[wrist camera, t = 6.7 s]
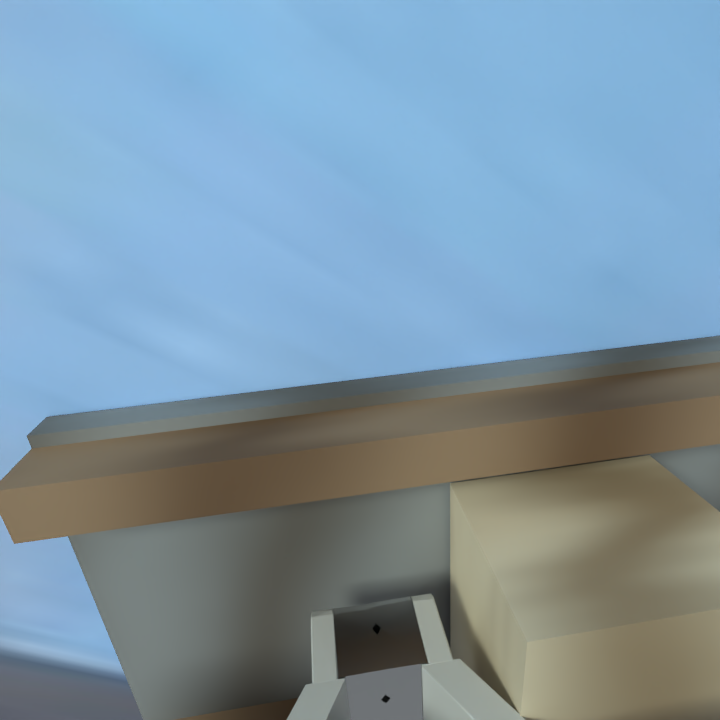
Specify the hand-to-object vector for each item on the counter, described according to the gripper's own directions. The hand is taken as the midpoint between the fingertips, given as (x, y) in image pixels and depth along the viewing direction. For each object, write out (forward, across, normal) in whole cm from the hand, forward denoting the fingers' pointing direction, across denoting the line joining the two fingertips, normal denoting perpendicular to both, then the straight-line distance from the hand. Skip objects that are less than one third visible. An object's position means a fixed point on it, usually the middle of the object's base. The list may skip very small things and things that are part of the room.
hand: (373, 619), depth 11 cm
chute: (+2, -5, 0) cm, 6 cm away
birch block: (+2, -5, 0) cm, 5 cm away
